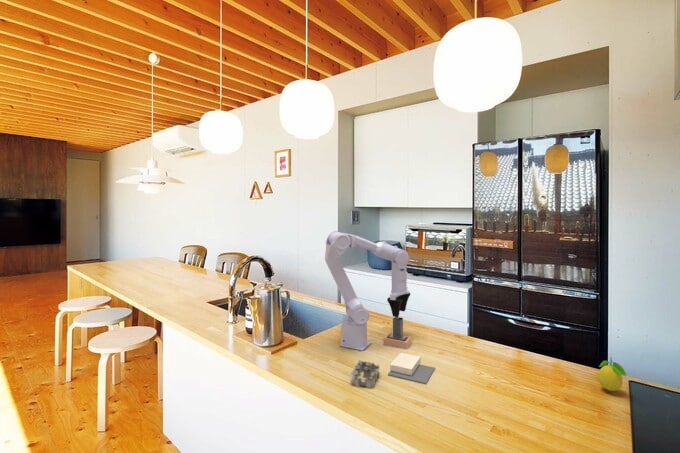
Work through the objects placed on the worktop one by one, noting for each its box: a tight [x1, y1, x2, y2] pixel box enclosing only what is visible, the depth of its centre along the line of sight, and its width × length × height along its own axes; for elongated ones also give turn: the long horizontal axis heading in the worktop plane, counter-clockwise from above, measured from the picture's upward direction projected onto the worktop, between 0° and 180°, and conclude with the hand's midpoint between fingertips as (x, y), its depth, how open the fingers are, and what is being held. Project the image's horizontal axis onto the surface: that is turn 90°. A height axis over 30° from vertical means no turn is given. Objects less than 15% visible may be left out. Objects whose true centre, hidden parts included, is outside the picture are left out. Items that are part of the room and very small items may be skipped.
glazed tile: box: [389, 352, 422, 376], centre depth 115 cm, size 7×2×10 cm
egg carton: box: [350, 359, 380, 389], centre depth 109 cm, size 11×8×4 cm
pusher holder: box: [382, 332, 412, 350], centre depth 135 cm, size 6×9×2 cm
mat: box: [387, 363, 436, 385], centre depth 113 cm, size 12×11×1 cm
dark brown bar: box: [389, 316, 408, 341], centre depth 134 cm, size 3×6×10 cm, turn 61°
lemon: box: [597, 357, 628, 392], centre depth 100 cm, size 7×6×10 cm
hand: (399, 313), depth 138 cm, fingers open, 7 cm apart
